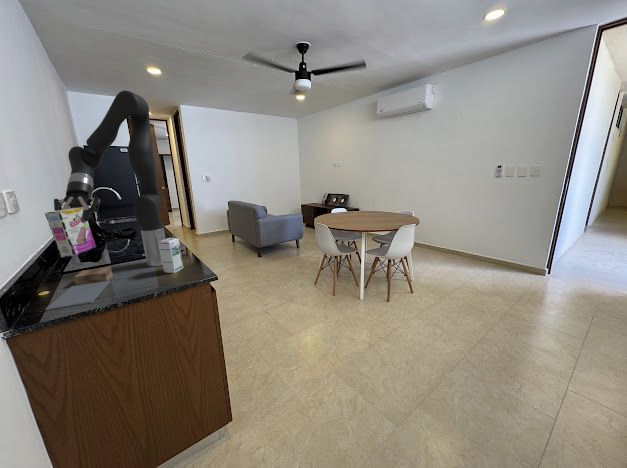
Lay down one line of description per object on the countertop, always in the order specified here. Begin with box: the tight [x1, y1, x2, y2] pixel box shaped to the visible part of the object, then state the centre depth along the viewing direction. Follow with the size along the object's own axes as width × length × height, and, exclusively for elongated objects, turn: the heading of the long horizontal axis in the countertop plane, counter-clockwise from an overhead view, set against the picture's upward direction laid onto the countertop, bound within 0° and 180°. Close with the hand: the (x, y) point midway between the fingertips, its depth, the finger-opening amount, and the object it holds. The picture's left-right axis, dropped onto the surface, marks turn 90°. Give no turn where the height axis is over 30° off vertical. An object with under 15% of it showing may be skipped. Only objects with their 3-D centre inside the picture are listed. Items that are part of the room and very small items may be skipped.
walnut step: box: [73, 266, 114, 286], centre depth 104 cm, size 10×7×4 cm
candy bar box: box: [44, 207, 97, 258], centre depth 93 cm, size 11×5×16 cm, turn 7°
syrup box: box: [158, 237, 185, 274], centre depth 112 cm, size 6×6×14 cm
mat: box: [45, 280, 110, 312], centre depth 92 cm, size 12×18×1 cm, turn 23°
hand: (74, 220), depth 94 cm, fingers closed on candy bar box, 5 cm apart
